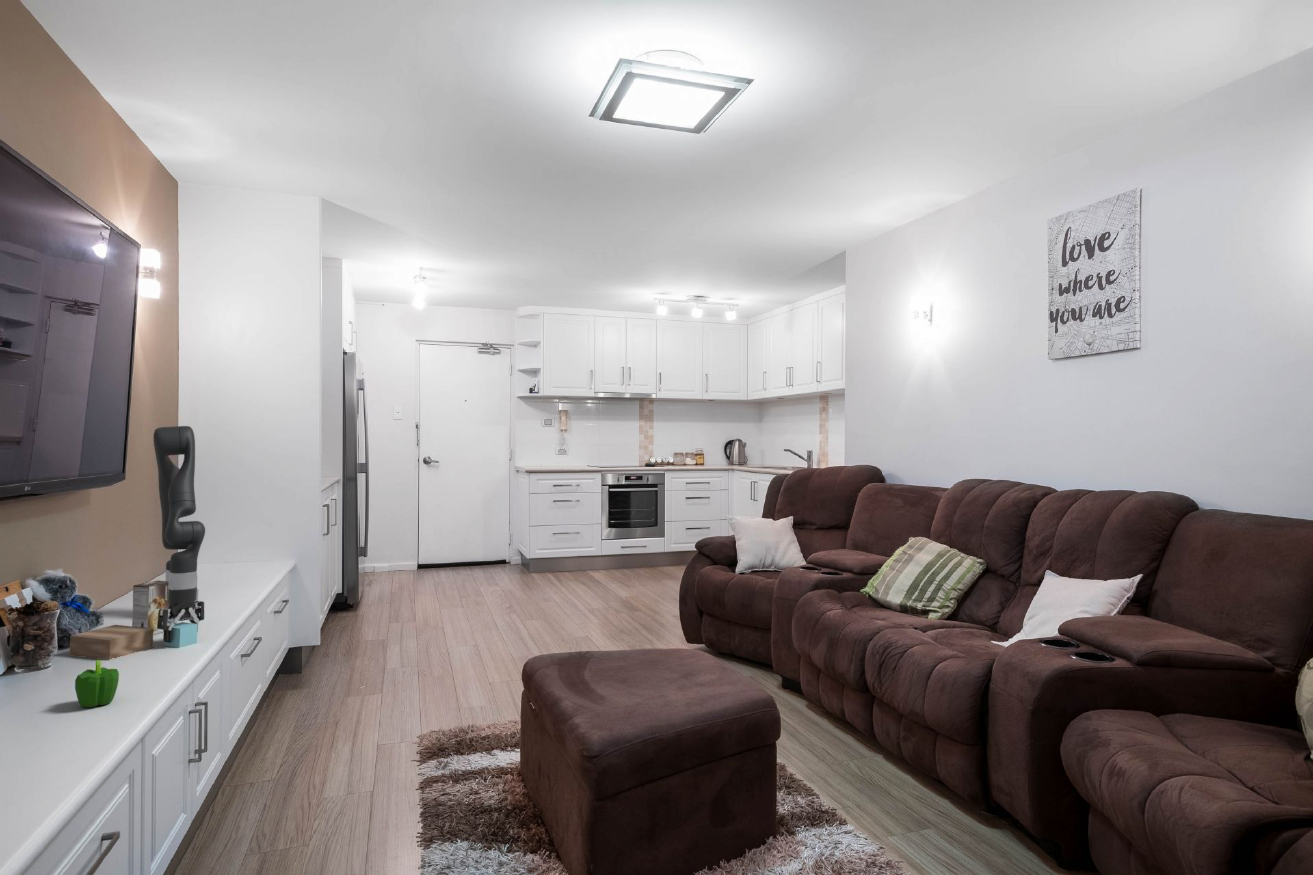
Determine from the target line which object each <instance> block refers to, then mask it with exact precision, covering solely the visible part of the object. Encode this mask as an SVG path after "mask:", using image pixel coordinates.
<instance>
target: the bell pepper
mask: <svg viewBox="0 0 1313 875" xmlns="http://www.w3.org/2000/svg"><path fill="white" fill-rule="evenodd" d="M119 677H120V673H119V670H118V669H117V668H107V667H104V666H102V661H101V659H96V661H95V669H91V668H89V669H86V670H84V671H83V672H82V673H79V674H78V675H77V676H76V678H75V680H74V689H75V690H74V691H75V694H76V698H77V701H78V703H79V704H80V706H81V707H83V708H93V707H98V706H104V705H105V706H106V705H110V703H112V701H114V698H115V695H116V692H117V688H118V686H119Z"/></svg>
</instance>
